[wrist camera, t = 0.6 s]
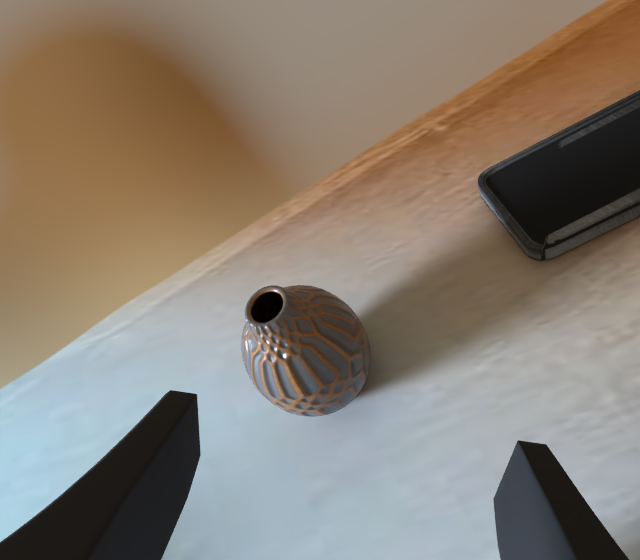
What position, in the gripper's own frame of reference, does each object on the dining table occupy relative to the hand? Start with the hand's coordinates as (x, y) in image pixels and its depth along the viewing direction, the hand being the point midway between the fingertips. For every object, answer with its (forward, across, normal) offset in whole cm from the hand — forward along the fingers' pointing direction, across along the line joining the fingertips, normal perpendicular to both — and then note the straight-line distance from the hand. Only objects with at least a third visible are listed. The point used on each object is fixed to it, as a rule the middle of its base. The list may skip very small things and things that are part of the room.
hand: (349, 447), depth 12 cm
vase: (+16, +1, +13) cm, 21 cm away
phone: (+25, -15, 0) cm, 29 cm away
